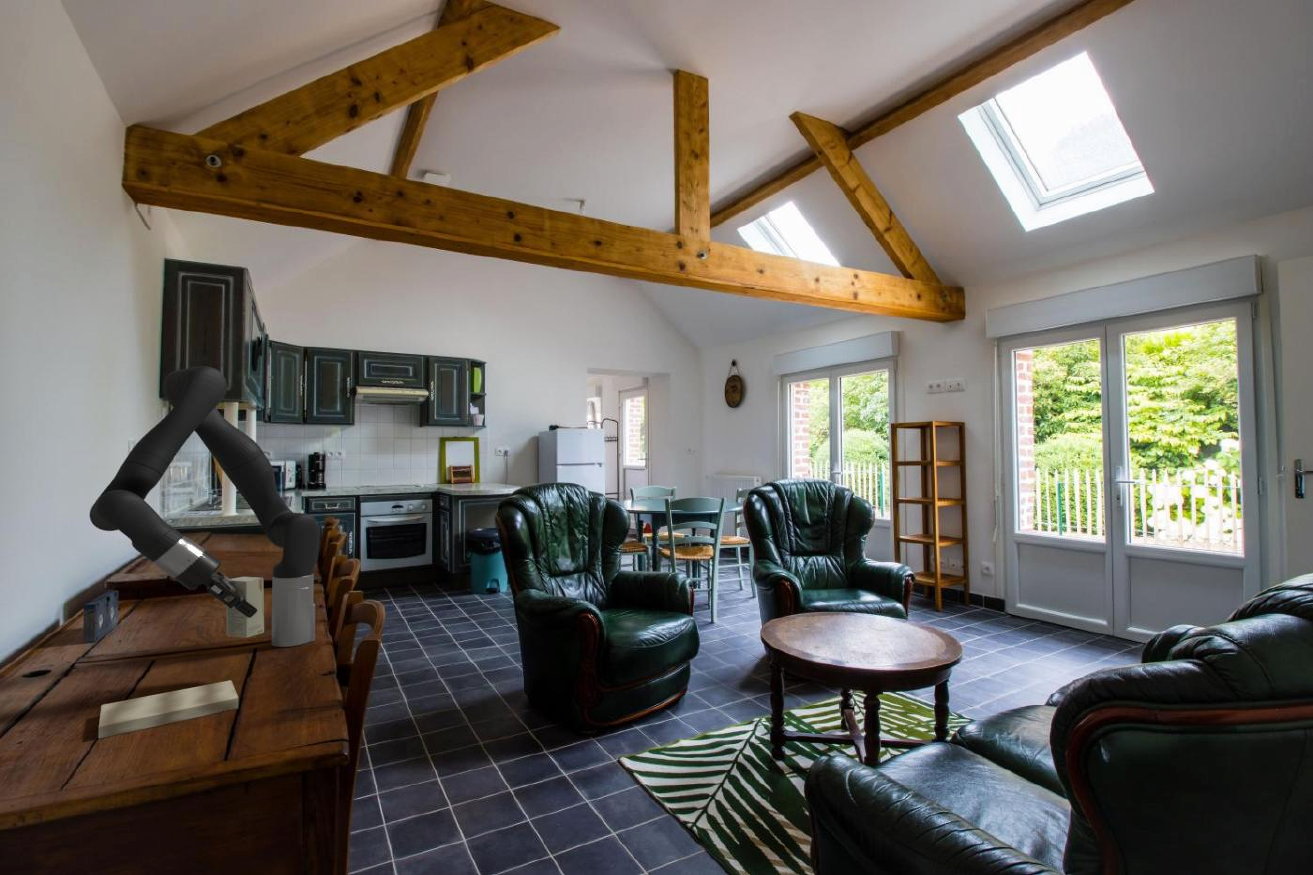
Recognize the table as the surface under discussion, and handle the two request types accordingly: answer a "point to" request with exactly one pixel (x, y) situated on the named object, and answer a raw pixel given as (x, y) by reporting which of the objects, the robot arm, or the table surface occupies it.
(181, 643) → the table surface
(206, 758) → the table surface
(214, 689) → the birch board
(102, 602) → the vhs cassette tape
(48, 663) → the table surface
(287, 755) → the table surface
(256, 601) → the skincare box
